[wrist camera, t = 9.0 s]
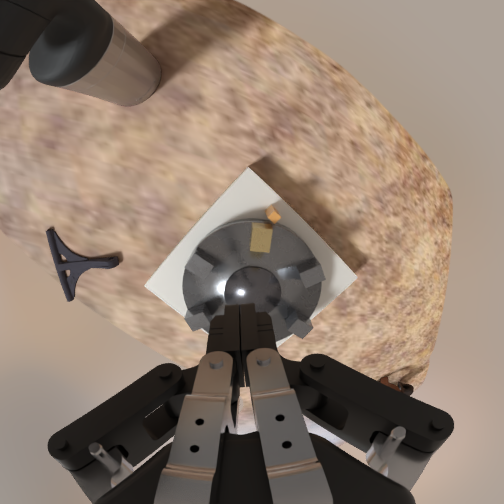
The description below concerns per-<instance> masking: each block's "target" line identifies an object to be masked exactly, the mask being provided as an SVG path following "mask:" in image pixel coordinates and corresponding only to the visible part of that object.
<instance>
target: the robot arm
mask: <svg viewBox="0 0 504 504" xmlns="http://www.w3.org/2000/svg"><path fill="white" fill-rule="evenodd" d="M29 51H30V53H29ZM28 53H29V68H30V72H31V74H32V76H33V77H34V78H35V79H36V80H37V81H39V82H41V83H43V84H46V85H51V86H55V87H59V88H63V89H67V90H71V91H75V92H79V93H82V94H86V95H89V96H92V97H96V98H99V99H102V100H105V101H108V102H111V103H115V104H118V105H121V106H133V105H137V104H139V103H141V102H143V101H145V100H146V99H147V98H149V97H150V96H151V95H152V94H153V92H154V91H155V90H156V88H157V86H158V84H159V81H160V78H161V68H160V65H159V62H158V61H157V60H156V59H155V57H154V56H153V55H152V54H151V53H150V52H149V51H148V50H147V49H146V48H145V47H144V46H143V45H142V44H141V43H140V42H139V41H138V40H137V39H136V38H135V37H134V36H132V35H131V34H130V33H129V32H128V31H127V30H126V29H125V28H124V27H123V26H122V25H121V24H120V23H119V22H117V21H116V20H115V19H114V18H113V17H112V16H111V15H110V14H109V13H108V12H107V11H105V10H104V9H103V8H102V7H101V6H100V5H99V4H98V3H97V2H96V1H95V0H0V90H1V89H2V88H4V87H5V86H6V85H7V84H8V83H9V82H10V80H11V79H12V78H13V76H14V75H15V73H16V72H17V70H18V69H19V67H20V65H21V64H22V62H23V61H24V59H25V57H26V55H27V54H28ZM240 311H241V314H240ZM244 374H245V382H246V387H250V393H251V401H252V407H253V413H254V419H255V425H256V431H255V432H252V433H248V434H244V435H238V434H237V427H238V414H239V396H240V387H245V382H244ZM159 406H160V407H159ZM158 407H159V408H158ZM157 408H158V409H157ZM155 409H156V410H155ZM154 410H155V411H154ZM153 411H154V412H153ZM150 413H151V414H150ZM149 414H150V415H149ZM302 414H303V415H304V416H306V417H307V418H309V419H311V420H312V421H314V422H315V423H317V424H318V425H320V426H321V427H323V428H324V429H326V430H328V431H329V432H331V433H333V434H334V435H336V436H337V437H339V438H341V439H342V440H344V441H346V442H348V443H349V444H351V445H353V446H354V447H356V448H358V449H360V450H362V451H363V452H365V453H367V454H366V461H367V463H368V465H369V466H370V467H369V466H367V465H365V464H364V463H362V462H360V461H359V460H357V459H356V458H354V457H352V456H351V455H349V454H348V453H346V452H345V451H343V450H341V449H340V448H339V447H337V446H335V445H334V444H333V443H331V442H330V441H328V440H326V439H325V438H323V437H321V436H318V435H316V434H312V433H309V432H308V430H307V427H306V424H305V421H304V418H303V415H302ZM146 416H147V417H146ZM145 417H146V418H145ZM453 429H454V421H453V419H452V417H451V416H450V415H449V414H448V413H447V412H445V411H443V410H440V409H438V408H435V407H433V406H431V405H428V404H426V403H424V402H421V401H419V400H417V399H415V398H412V397H410V396H408V395H406V394H404V393H402V392H399V391H397V390H395V389H393V388H391V387H389V386H386V385H384V384H382V383H380V382H378V381H376V380H374V379H372V378H370V377H368V376H366V375H364V374H362V373H360V372H358V371H356V370H354V369H352V368H350V367H348V366H346V365H344V364H342V363H340V362H338V361H336V360H334V359H332V358H330V357H328V356H326V355H323V354H311V355H308V356H306V357H304V358H303V359H302V361H301V362H299V361H291V360H288V359H285V358H283V357H282V356H281V355H280V354H279V353H278V350H277V345H276V340H275V335H274V330H273V325H272V319H271V316H270V315H269V314H268V313H267V312H256V311H255V303H246V304H240V305H239V304H234V305H225V310H224V315H215V316H214V318H213V319H212V320H211V321H210V328H209V335H208V342H207V350H206V355H204V356H203V357H202V358H201V360H200V363H199V365H197V366H195V367H192V368H189V369H185V370H181V368H180V367H179V366H177V365H175V364H172V363H165V364H161V365H159V366H157V367H155V368H154V369H152V370H151V371H149V372H148V373H147V374H145V375H144V376H142V377H141V378H139V379H138V380H136V381H135V382H133V383H132V384H130V385H129V386H127V387H126V388H125V389H123V390H122V391H120V392H119V393H117V394H116V395H114V396H113V397H111V398H110V399H108V400H107V401H105V402H103V403H102V404H100V405H99V406H97V407H96V408H94V409H93V410H91V411H90V412H88V413H87V414H85V415H83V416H82V417H80V418H79V419H77V420H76V421H74V422H72V423H71V424H70V425H68V426H66V427H64V428H63V429H61V430H60V431H58V432H56V433H55V434H53V435H52V436H51V438H50V439H49V442H48V451H49V453H50V454H51V456H53V458H54V459H56V460H57V461H58V462H59V463H60V464H61V465H62V466H63V467H64V468H65V469H66V470H67V471H69V472H70V473H71V474H72V476H73V477H74V479H75V480H76V482H77V483H78V485H79V486H80V487H81V489H82V490H83V492H84V493H85V494H86V496H87V497H88V498H89V500H90V501H91V502H92V503H93V504H416V503H415V500H414V497H413V495H412V494H411V492H410V490H411V489H412V487H413V486H414V484H415V483H416V481H417V480H418V478H419V477H420V475H421V473H422V472H423V470H424V468H425V466H426V465H427V463H428V461H429V460H430V458H431V456H432V455H433V454H434V453H435V452H436V451H437V450H438V449H439V448H440V446H441V445H442V444H443V443H444V442H445V441H446V440H447V438H448V437H449V436H450V435H451V433H452V431H453ZM174 435H175V436H174ZM173 436H174V440H173V442H171V443H169V444H167V445H166V446H164V447H163V448H162V449H161V450H159V451H158V452H157V453H156V454H155V455H154V456H152V457H151V458H150V459H149V460H148V461H146V462H145V463H144V464H143V465H141V466H140V467H139V468H138V469H137V470H135V471H134V472H133V467H134V466H136V465H137V464H138V463H140V462H141V461H142V460H144V459H145V458H146V457H147V456H149V455H150V454H152V453H153V452H154V451H155V450H157V449H158V448H159V447H160V446H162V445H163V444H164V443H165V442H167V441H168V440H169V439H170V438H171V437H173ZM372 468H373V469H372Z"/></svg>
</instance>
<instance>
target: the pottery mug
mask: <svg viewBox="0 0 504 504" xmlns="http://www.w3.org/2000/svg"><path fill="white" fill-rule="evenodd" d="M380 383H382V384H384V385H386V386H389V387H391V388H393V389H395V390H397V391H399V392H402V393H404V394H406V395H408V396H410V395H411V394H412V393H413V389H414V388H413V386H412V385H410V384H402V383H401V382H398V387H397V386H395V385H394V384H391V383H388V377H383V378H381V380H380Z"/></svg>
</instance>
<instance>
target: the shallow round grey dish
mask: <svg viewBox="0 0 504 504" xmlns="http://www.w3.org/2000/svg"><path fill="white" fill-rule="evenodd" d="M184 268H185V270H184V275H183V282H182V289H183V296H184V301H185V304H186V306H187V312H186V315H185V321H186V322H187V324H188V325H189V327H190V328H191V329H192V331H196V330H198V329H201V328H202V329H204V330H205V331H206V332H207V333H209V328H210V321H211V320H212V319H213V318H214V316H215V315H224V310H225V305H234V304H239V305H240V304H246V303H255V311H256V312H267V313H268V314H269V315H270V316H271V319H272V325H273V330H274V335H275V340H276V342H277V341H280V340H282V339H284V338H286V337H288V336H290V335H292V334H295V335H297V336H298V337H300V338H302V339H303V338H304V337H305V336H306V335H307V334H308V333H309V332H310V331H311V330H312V329H313V326H312V323H311V320H310V317H311V315H312V314H313V312H314V311H315V308H316V306H317V304H318V301H319V298H320V294H321V286H322V281H324V280H326V279H325V276H324V273H323V270H322V267H321V264H320V263H319V261H318V260H317V258H315V256H314V255H313V253H312V251H311V250H310V248H309V247H308V245H307V244H306V243H305V242H304V240H303V239H302V238H301V237H300V236H299V235H297V234H296V233H295V232H294V231H292V230H291V229H289V228H288V227H286V226H284V225H282V224H279V223H277V222H276V223H275V224H274V223H273V222H272V221H270V220H265V219H257V218H248V219H239V220H235V221H231V222H228V223H226V224H223V225H221V226H219V227H217V228H215V229H214V230H212V231H211V232H210V233H208V234H207V235H206V236H205V237H204V238H203V239H202V240H201V241H200V242H199V243H198V244H197V246H196V247H195V248H194V250H193V252H192V254H191V256H190V258H189V259H188V261H187V263H186V265H185V267H184ZM240 314H241V311H240Z"/></svg>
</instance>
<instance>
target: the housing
mask: <svg viewBox="0 0 504 504" xmlns="http://www.w3.org/2000/svg"><path fill="white" fill-rule="evenodd" d="M248 218H257V219H265V220H270V221H272V222H273V223H274V224H275V223H276V222H277V223H279V224H282V225H284V226H286V227H288V228H289V229H291V230H292V231H294V232H295V233H296V234H297V235H299V236H300V237H301V238H302V239H303V240H304V242H305V243H306V244H307V245H308V247H309V248H310V250H311V251H312V253H313V255H314V256H315V258H317V260H318V261H319V263H320V264H321V267H322V270H323V273H324V276H325V279H326V280H324V281H322V286H321V294H320V298H319V301H318V304H317V306H316V308H315V311H314V312H313V314H312V315H311V317H310V320H311V319H312V318H314V317H315V316H316V315H317V314H318V313H319V312H321V311H322V310H323V309H324V308H325V307H326V306H327V305H329V304H330V303H331V302H332V301H333V300H334V299H335V298H336V297H337V296H339V295H340V294H341V293H342V292H343V291H344V290H345V289H346V288H347V287H348V286H349V285H350V284H351V283H353V282H354V281H355V280H356V279H357V278H358V277H357V276H356V275H355V273H354V272H353V271H352V270H351V269H350V268H349V267H348V265H347V264H346V263H345V262H344V261H343V260H342V259H341V258H340V257H339V256H338V255H337V254H336V253H335V252H334V251H333V249H332V248H331V247H330V246H329V245H328V244H327V243H326V242H325V241H324V240H323V239H322V238H321V237H320V236H319V235H318V234H317V233H316V232H315V231H314V230H313V229H312V228H311V227H310V226H309V225H308V224H307V223H306V222H305V221H304V220H303V219H302V218H301V217H300V216H299V215H298V214H297V213H296V212H295V211H294V210H293V209H292V208H291V207H290V206H289V205H288V204H287V203H286V202H285V201H284V200H283V199H282V198H281V197H280V196H279V195H278V194H277V193H276V192H275V191H274V190H273V189H272V188H271V187H270V186H269V185H268V184H266V183H265V182H264V181H263V180H262V179H261V178H260V177H259V176H258V175H257V174H256V173H255V172H254V171H253V170H251V169H250V168H249V167H247V168H246V169H245V170H244V171H243V172H242V173H241V174H240V175H239V176H238V177H237V178H236V179H235V180H234V181H233V182H232V184H231V185H230V186H229V187H228V188H227V189H226V190H225V191H224V192H223V193H222V194H221V195H220V196H219V198H218V199H217V200H216V201H215V202H214V203H213V204H212V205H211V206H210V207H209V209H208V210H207V211H206V212H205V213H204V214H203V215H202V216H201V218H200V219H199V220H198V221H197V222H196V223H195V224H194V225H193V227H192V228H191V229H190V230H189V231H188V232H187V234H186V235H185V236H184V237H183V238H182V239H181V241H180V242H179V243H178V244H177V245H176V246H175V248H174V249H173V250H172V251H171V252H170V254H169V255H168V256H167V257H166V258H165V260H164V261H163V262H162V263H161V264H160V266H159V267H158V268H157V269H156V271H155V272H154V273H153V274H152V275H151V277H150V278H149V279H148V281H147V282H146V284H145V287H146V288H147V289H149V290H150V291H151V292H152V293H154V294H155V295H156V296H157V297H159V298H160V299H161V300H163V301H164V302H165V303H166V304H168V305H169V306H170V307H172V308H173V309H174V310H176V311H177V312H178V313H180V314H181V315H182V316H184V317H185V315H186V312H187V306H186V304H185V301H184V296H183V289H182V282H183V275H184V270H185V268H184V267H185V265H186V263H187V261H188V259H189V258H190V256H191V254H192V252H193V250H194V248H195V247H196V246H197V244H198V243H199V242H200V241H201V240H202V239H203V238H204V237H205V236H206V235H207V234H208V233H210V232H211V231H212V230H214V229H215V228H217V227H219V226H221V225H223V224H226V223H228V222H231V221H235V220H239V219H248ZM201 330H203V331H204V332H206V331H205V330H204V329H202V328H201ZM206 333H207V332H206ZM207 334H208V335H209V333H207ZM292 335H293V334H292ZM292 335H290V336H288V337H286V338H284V339H282V340H280V341H277V342H276V345H277V347H278V346H280V345H281V344H282V343H283V342H285V341H286V340H287V339H288V338H290V337H291V336H292Z"/></svg>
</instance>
